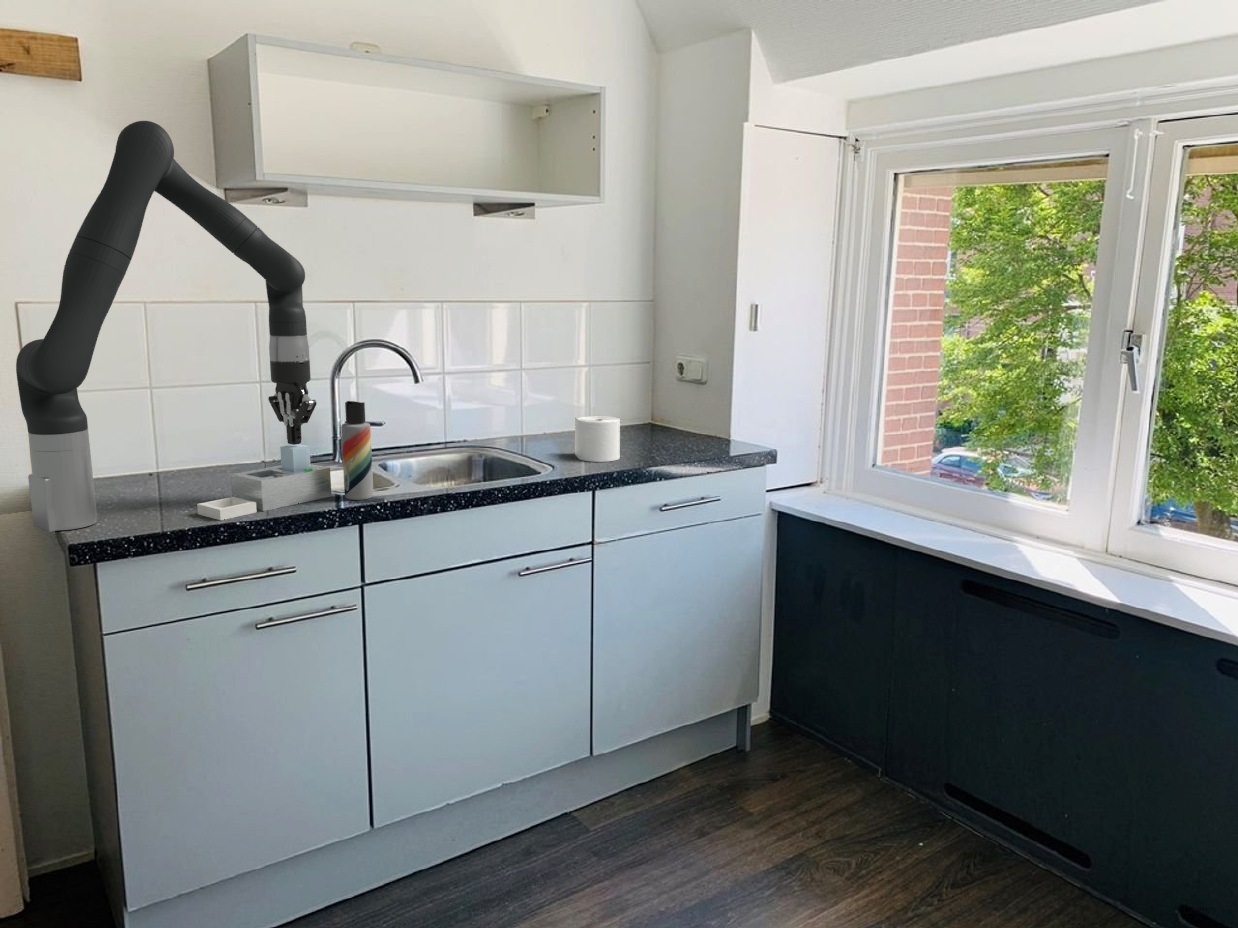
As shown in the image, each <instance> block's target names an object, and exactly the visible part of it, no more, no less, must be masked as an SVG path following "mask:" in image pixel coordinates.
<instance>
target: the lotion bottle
mask: <svg viewBox="0 0 1238 928" xmlns="http://www.w3.org/2000/svg"><path fill="white" fill-rule="evenodd" d="M344 404H345V405H344V409H345V411H344V412H345V423H342V424H341V426H340V427H341V447H342V469H343V486H344V487H343V488H344V491H343V492H344V498H345V499H347V500H351V501H352V500H355V501H361V500H367V499H371V498H373V497H374V479H373V478H374V477H373V475H374V473H373V458H372V457H373V456H372V455H373V453H372V451H373V450H372V432H371V431H372V430H371V429H372V428H371V424H370V422H366V405H365V402H360V401H353V400H352V401H351V400H346V402H345V403H344Z"/></svg>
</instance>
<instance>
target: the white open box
mask: <svg viewBox="0 0 1238 928" xmlns="http://www.w3.org/2000/svg"><path fill="white" fill-rule="evenodd" d="M196 506H197V515H200V516H204V517H207V518H211V519H214V520H219V521H225V520H228V519H234V518H236V517H241V516H247V515H251V514H256V513H257V512H258V510H256V502H253V501H248V500H244V499H240V498H236V497H232V496H231V497H225V498H221V499H220V498H219V499H216V500H215V499H214V500H211V501H206V502H200V503H197V505H196ZM224 519H225V520H224Z"/></svg>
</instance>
